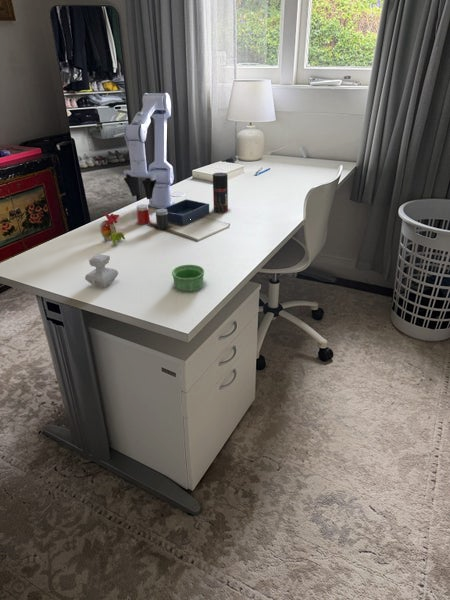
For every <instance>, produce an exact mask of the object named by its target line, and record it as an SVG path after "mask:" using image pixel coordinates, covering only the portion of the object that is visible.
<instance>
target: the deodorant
mask: <svg viewBox="0 0 450 600" xmlns="http://www.w3.org/2000/svg"><path fill="white" fill-rule="evenodd" d="M228 179H229V178H228V173H227V172H214V173H212V197H213V201H212V202H213V212H214V213H217V214H224V213H228V212H229V188H228V187H229V185H228Z"/></svg>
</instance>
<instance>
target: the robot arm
mask: <svg viewBox="0 0 450 600" xmlns="http://www.w3.org/2000/svg"><path fill="white" fill-rule="evenodd" d="M141 101H142V108H141V110H140V111H138V112H137V113H136V114H135V116H134V117H133V119H132V121H131V122H130V124H127V125H125V126H124V129H123V137H124V140H125V143H126V147H127V148H128V155H129V164H130V169H125V170H123V176H124V178H123V181H124V182H125V184H126V185H127V186H128V187H127V188H129V191H130V194H131V196H132V197H136V196H138V180H139V179H143V180H141V183H142V185H143V187H144V191H145V198H146V200H148V202H149V203H148V204H147V205H148V207H152V208H156V209H162V208H165V207H168V206H170V205H173V204H175V202H172V192H171V191H172V190H171V186H172V185H173V183H174V179H175V174H174V167H173V165H172V164H170V163H169V162H168V161H167V147H168V145H167V142H168V141H167V138H168V137H167V135H168V132H167V131H168V130H167V129H168V119H169V118H170V117H171V113H172V100H171V96H170V94H169V93H168V92H163V93H162V92H157V93H156V92H153V93H152V92H150V93H149V92H144V94H143V95H142V99H141ZM151 118H153V120H154V161H153V162H151V163H150V164H149V165H148V166H147V155H146V146H145V145H146V144H145V142H146V141H147V134H148V129H149V127H150V124H151V122H152V120H151Z"/></svg>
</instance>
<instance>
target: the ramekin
mask: <svg viewBox="0 0 450 600" xmlns="http://www.w3.org/2000/svg"><path fill="white" fill-rule="evenodd" d="M204 275H205V269H204V268H203V267H202V266H199V265H196V264H182V265H178V266H176V267H174V269H172V271H171V276H172V279H173V284H174V287H175V289H176V290H179V291H181V292H195V291H198V290H199V289H201V288H202V287H203V285H204Z"/></svg>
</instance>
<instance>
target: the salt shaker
mask: <svg viewBox="0 0 450 600" xmlns="http://www.w3.org/2000/svg"><path fill="white" fill-rule="evenodd" d="M136 217H137V224H138V225H148V224H150V223H151V217H150V209H149V206H148V204H145V203H143V204H142V203H141V204H137V205H136Z"/></svg>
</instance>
